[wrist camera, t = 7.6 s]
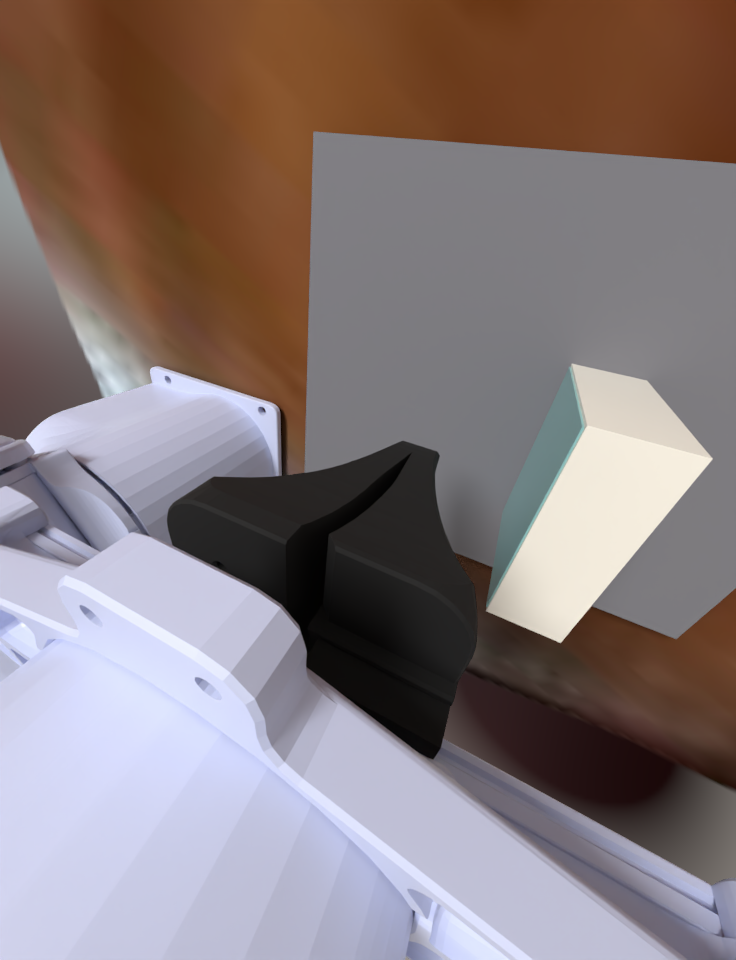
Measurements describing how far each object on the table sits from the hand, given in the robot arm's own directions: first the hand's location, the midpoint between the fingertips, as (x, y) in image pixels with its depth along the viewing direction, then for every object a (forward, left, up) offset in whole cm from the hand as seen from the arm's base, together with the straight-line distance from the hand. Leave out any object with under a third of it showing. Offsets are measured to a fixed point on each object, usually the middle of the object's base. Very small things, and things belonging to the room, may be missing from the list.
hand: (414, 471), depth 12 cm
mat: (+3, +1, -5) cm, 6 cm away
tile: (+5, 0, -5) cm, 7 cm away
